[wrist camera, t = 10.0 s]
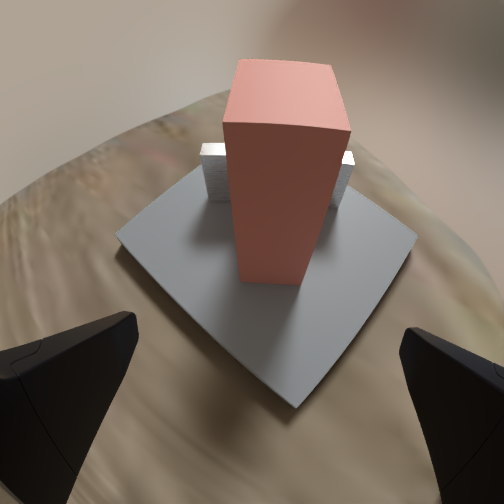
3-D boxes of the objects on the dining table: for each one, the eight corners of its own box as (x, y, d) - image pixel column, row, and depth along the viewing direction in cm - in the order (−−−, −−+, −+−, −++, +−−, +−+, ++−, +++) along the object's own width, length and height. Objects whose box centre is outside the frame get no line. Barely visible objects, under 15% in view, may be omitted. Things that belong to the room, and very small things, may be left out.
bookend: (336, 197, 23) (351, 152, 18) (338, 209, 22) (354, 164, 18) (211, 190, 23) (203, 143, 19) (209, 201, 23) (199, 155, 18)
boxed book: (301, 285, 19) (351, 131, 8) (240, 281, 19) (222, 122, 8) (300, 222, 22) (331, 65, 11) (246, 218, 22) (239, 59, 11)
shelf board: (410, 244, 22) (418, 235, 21) (293, 407, 17) (296, 408, 16) (252, 140, 28) (252, 128, 27) (121, 243, 23) (114, 234, 21)
